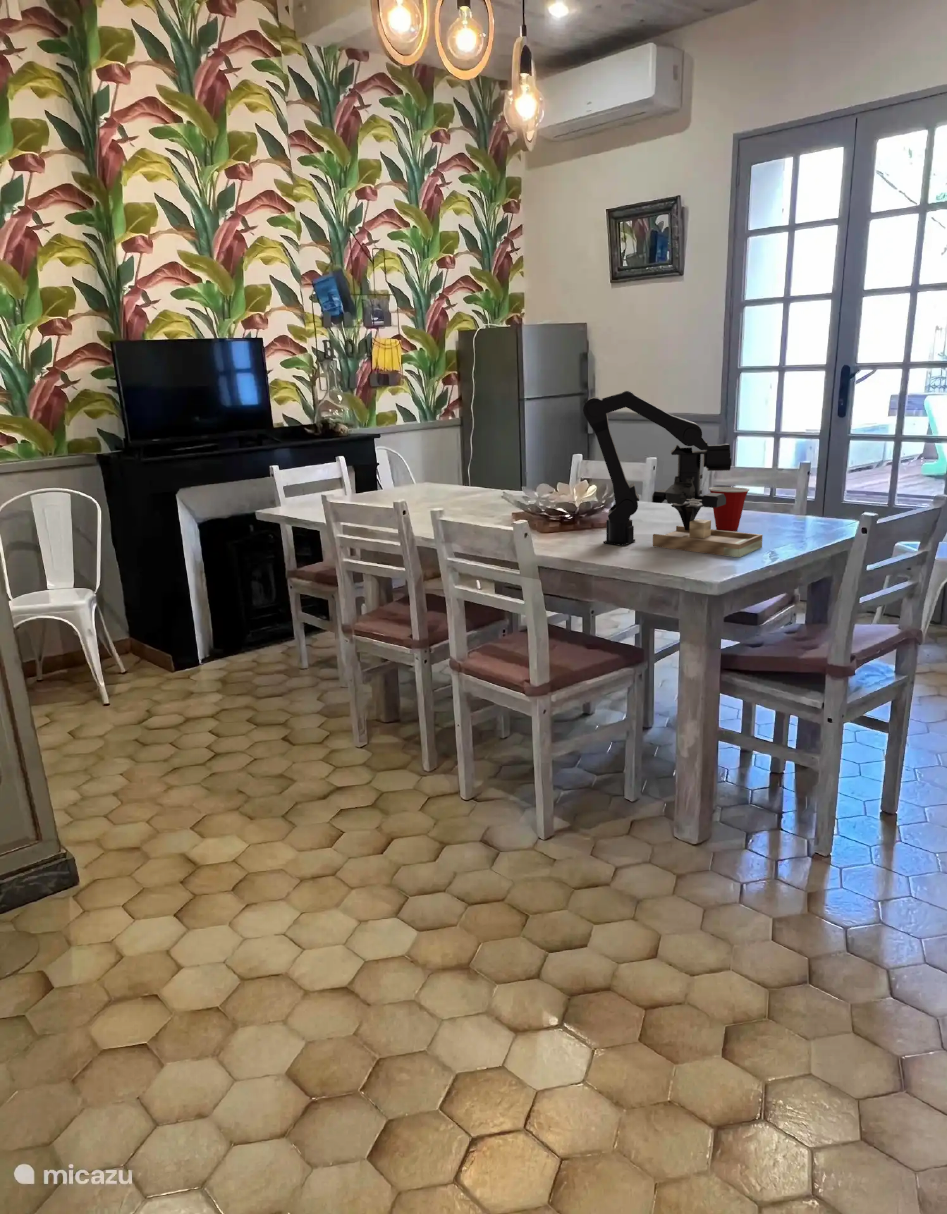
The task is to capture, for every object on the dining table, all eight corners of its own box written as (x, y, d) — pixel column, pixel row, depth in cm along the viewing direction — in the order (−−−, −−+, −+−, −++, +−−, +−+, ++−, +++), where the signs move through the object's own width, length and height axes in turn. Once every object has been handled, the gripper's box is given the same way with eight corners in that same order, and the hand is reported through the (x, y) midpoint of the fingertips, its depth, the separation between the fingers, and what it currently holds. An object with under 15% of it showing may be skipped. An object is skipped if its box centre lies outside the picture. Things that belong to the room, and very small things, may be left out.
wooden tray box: (652, 546, 219) (652, 534, 218) (677, 537, 228) (677, 525, 227) (739, 557, 203) (739, 544, 202) (761, 547, 212) (762, 534, 211)
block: (689, 536, 218) (689, 521, 217) (696, 533, 221) (697, 519, 220) (703, 538, 216) (703, 523, 215) (710, 535, 219) (711, 520, 218)
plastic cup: (753, 528, 234) (756, 485, 231) (737, 535, 227) (739, 491, 223) (717, 524, 241) (719, 483, 238) (700, 531, 233) (701, 488, 230)
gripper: (641, 473, 217) (640, 532, 221) (707, 477, 204) (705, 539, 209) (663, 468, 224) (662, 524, 229) (728, 471, 212) (725, 531, 217)
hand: (687, 530), depth 221 cm, fingers closed
